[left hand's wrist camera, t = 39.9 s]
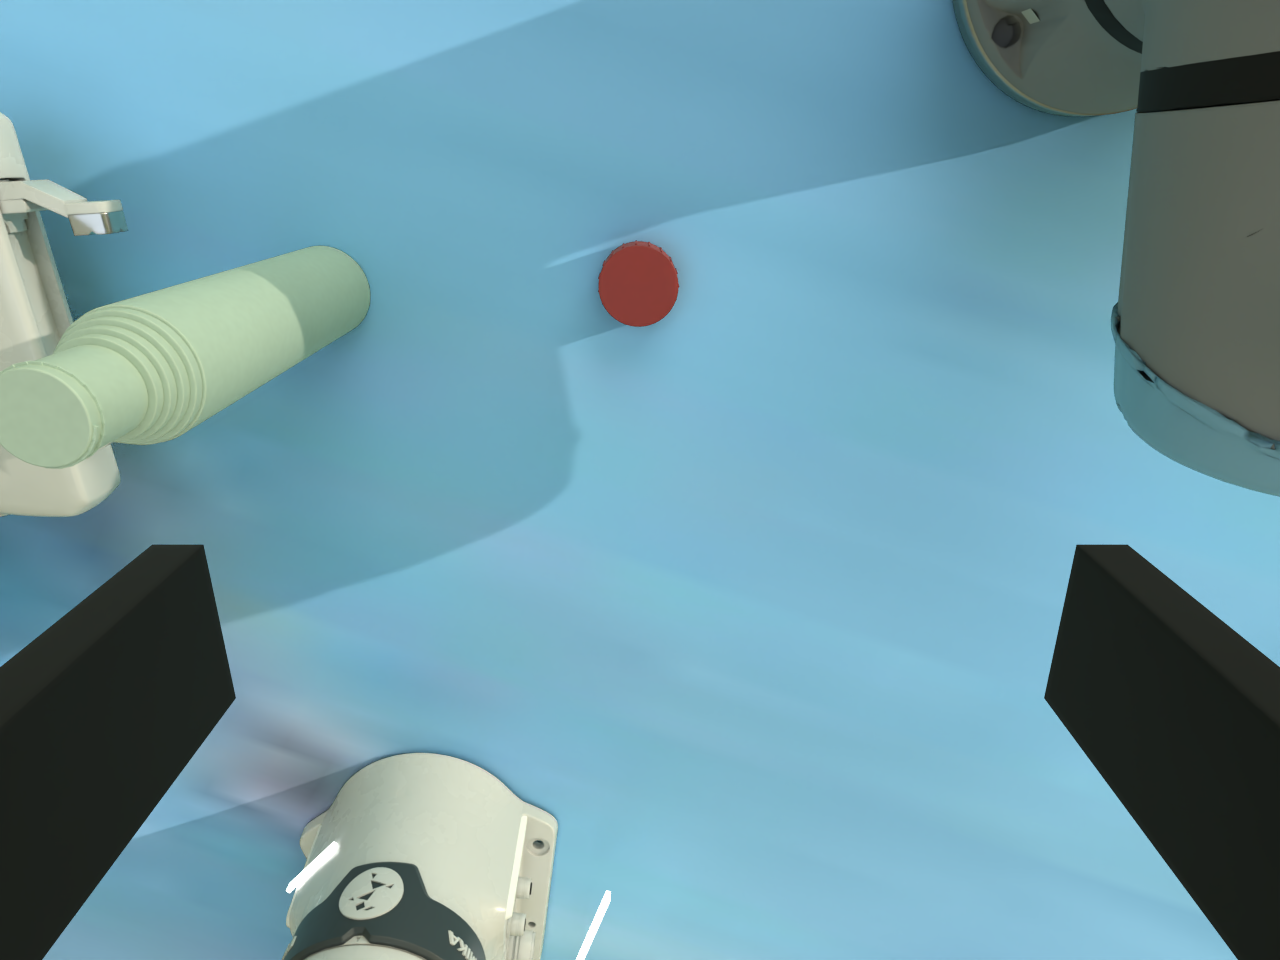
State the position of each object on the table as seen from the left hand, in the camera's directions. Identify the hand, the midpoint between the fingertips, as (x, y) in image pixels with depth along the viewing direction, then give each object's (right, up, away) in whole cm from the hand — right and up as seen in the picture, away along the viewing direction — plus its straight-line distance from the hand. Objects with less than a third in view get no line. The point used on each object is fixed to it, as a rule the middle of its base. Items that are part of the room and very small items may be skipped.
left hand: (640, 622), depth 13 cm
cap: (0, +13, +33) cm, 35 cm away
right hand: (-25, +10, +29) cm, 39 cm away
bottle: (-18, +13, +35) cm, 41 cm away
